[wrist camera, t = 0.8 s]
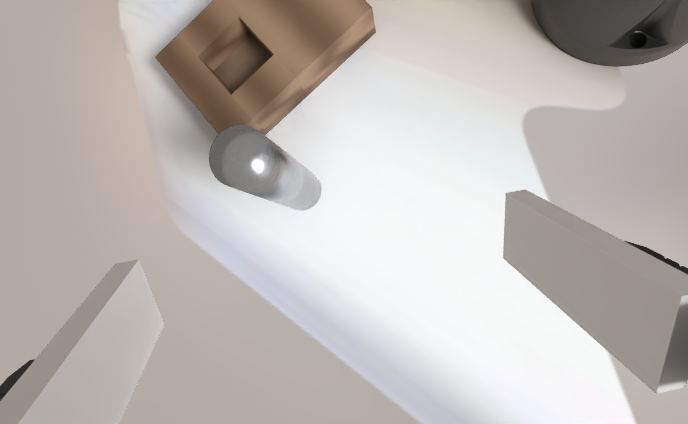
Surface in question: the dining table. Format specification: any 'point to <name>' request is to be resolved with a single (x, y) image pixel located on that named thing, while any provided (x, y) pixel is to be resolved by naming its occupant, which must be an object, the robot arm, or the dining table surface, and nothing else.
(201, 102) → the tool block
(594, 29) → the robot arm
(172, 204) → the dining table surface
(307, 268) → the dining table surface
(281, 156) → the metal peg
